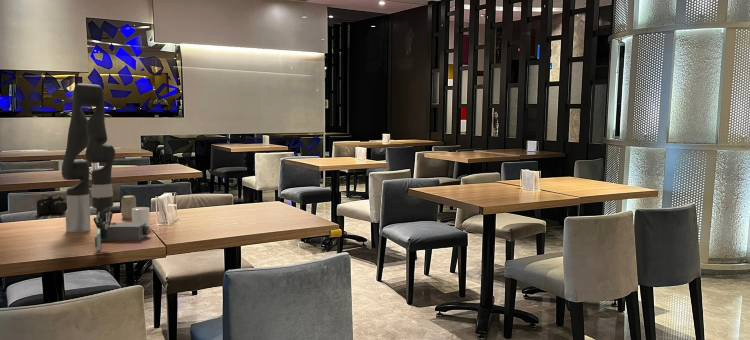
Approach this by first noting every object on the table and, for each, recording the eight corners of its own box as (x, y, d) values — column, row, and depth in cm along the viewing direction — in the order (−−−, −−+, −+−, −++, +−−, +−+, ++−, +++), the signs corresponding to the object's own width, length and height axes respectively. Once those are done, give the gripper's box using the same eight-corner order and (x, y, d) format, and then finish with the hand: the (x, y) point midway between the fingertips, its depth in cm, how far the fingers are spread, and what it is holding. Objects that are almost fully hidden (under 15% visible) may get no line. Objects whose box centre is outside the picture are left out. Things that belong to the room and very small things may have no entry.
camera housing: (101, 240, 240) (100, 225, 240) (109, 236, 249) (109, 221, 249) (142, 240, 241) (142, 225, 240) (149, 236, 250) (149, 221, 249)
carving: (139, 218, 293) (138, 195, 292) (127, 220, 286) (126, 197, 285) (131, 217, 296) (130, 194, 295) (118, 219, 289) (118, 196, 288)
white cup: (132, 231, 260) (132, 210, 259) (131, 228, 267) (130, 207, 266) (151, 230, 263) (150, 209, 262) (149, 227, 270) (148, 206, 269)
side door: (96, 240, 239) (95, 225, 238) (101, 239, 240) (100, 224, 239) (95, 250, 220) (94, 234, 219) (100, 250, 221) (99, 234, 220)
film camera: (57, 216, 299) (56, 197, 298) (33, 215, 299) (32, 197, 298) (74, 210, 316) (74, 192, 316) (52, 210, 316) (52, 192, 316)
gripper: (99, 192, 229) (101, 234, 231) (85, 197, 216) (87, 242, 218) (118, 192, 229) (120, 234, 231) (105, 197, 216) (107, 241, 218)
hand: (104, 238), depth 224 cm, fingers closed
